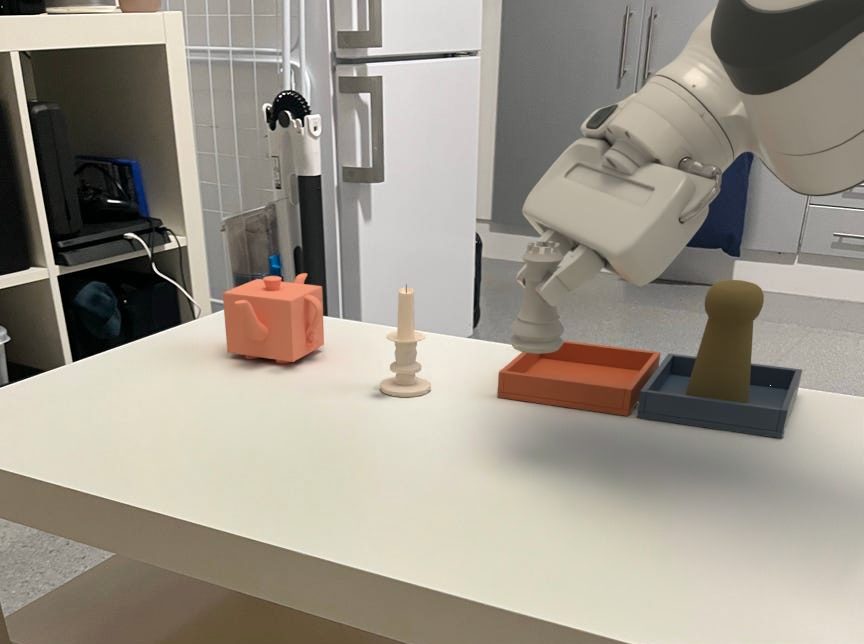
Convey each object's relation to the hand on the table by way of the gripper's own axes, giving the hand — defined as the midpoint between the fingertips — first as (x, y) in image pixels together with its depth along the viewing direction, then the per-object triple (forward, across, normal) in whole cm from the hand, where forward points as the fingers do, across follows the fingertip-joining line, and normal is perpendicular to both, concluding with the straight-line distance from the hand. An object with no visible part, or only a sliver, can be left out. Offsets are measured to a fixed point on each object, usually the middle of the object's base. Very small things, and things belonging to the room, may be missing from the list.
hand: (532, 292), depth 81 cm
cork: (-7, +8, -26) cm, 28 cm away
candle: (+14, +20, -6) cm, 25 cm away
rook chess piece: (+3, 0, -4) cm, 5 cm away
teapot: (+21, +35, +1) cm, 41 cm away
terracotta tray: (+1, +16, -19) cm, 25 cm away
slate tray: (-7, +7, -26) cm, 28 cm away
